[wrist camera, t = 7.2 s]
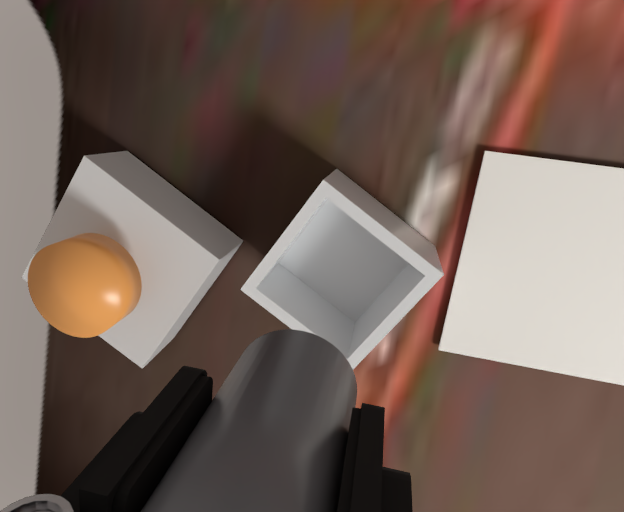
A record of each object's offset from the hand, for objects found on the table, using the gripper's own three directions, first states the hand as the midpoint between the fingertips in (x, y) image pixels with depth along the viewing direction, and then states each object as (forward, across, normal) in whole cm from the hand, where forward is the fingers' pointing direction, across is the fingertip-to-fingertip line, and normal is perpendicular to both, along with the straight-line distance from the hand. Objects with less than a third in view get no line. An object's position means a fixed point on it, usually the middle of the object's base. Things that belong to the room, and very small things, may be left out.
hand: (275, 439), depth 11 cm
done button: (+11, +13, +2) cm, 17 cm away
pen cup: (+17, 0, 0) cm, 17 cm away
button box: (+17, +12, +2) cm, 21 cm away
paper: (+17, -14, -1) cm, 22 cm away
